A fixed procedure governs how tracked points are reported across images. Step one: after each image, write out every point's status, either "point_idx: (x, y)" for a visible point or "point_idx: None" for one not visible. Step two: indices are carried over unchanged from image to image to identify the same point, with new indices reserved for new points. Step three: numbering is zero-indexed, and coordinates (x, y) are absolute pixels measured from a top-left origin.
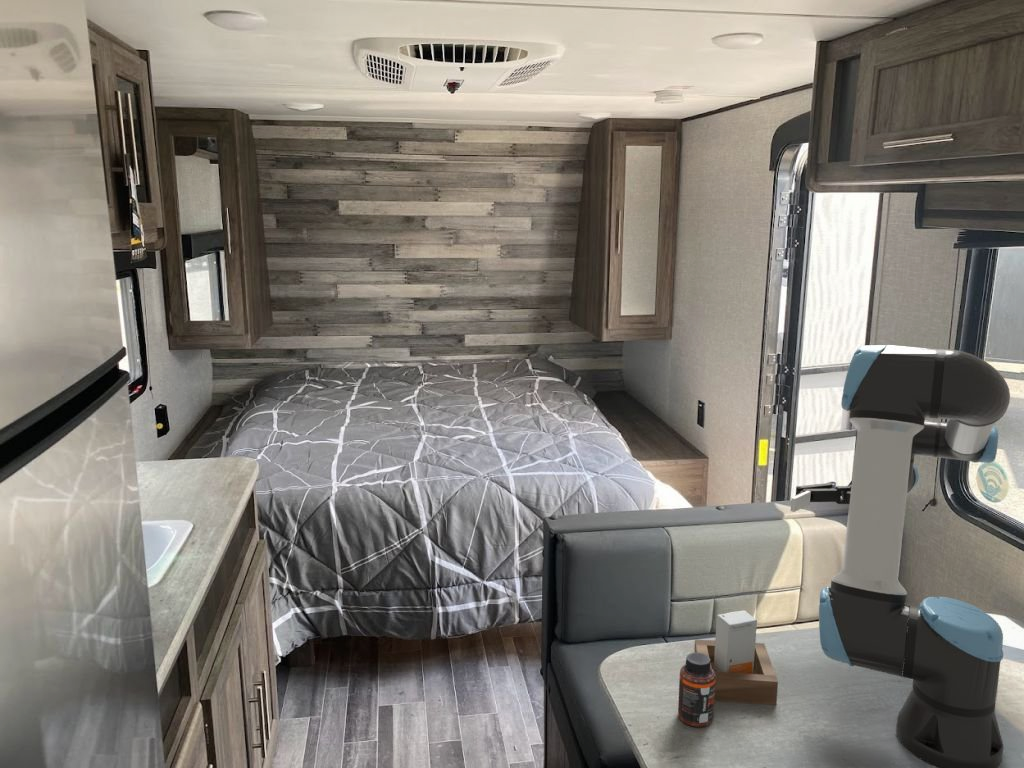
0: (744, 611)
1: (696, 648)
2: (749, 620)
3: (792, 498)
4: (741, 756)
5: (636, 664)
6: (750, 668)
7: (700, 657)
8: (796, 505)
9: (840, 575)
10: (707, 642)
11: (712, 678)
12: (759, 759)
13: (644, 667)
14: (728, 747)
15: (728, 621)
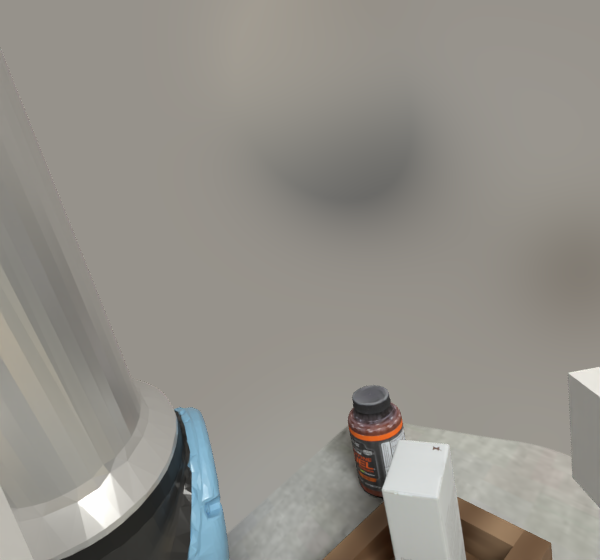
0: (430, 491)
1: (511, 525)
2: (390, 476)
3: (592, 370)
4: (294, 478)
5: (570, 491)
6: None
7: (369, 396)
8: (592, 456)
9: (142, 386)
10: (525, 555)
11: (348, 419)
12: (275, 490)
13: (555, 496)
14: (315, 477)
15: (410, 444)
